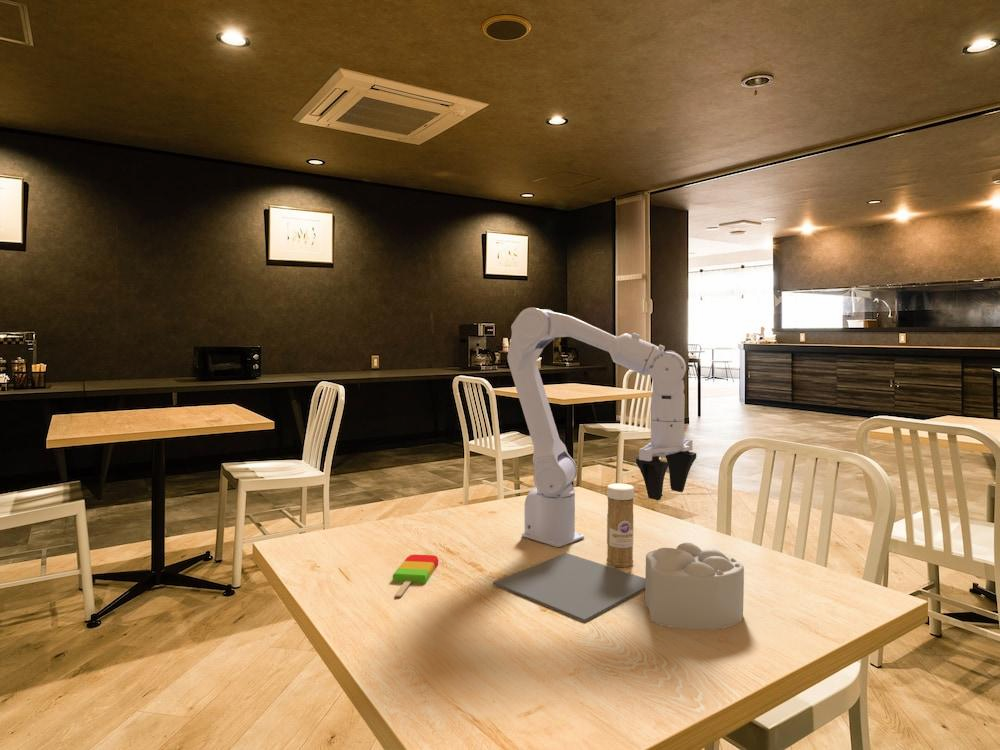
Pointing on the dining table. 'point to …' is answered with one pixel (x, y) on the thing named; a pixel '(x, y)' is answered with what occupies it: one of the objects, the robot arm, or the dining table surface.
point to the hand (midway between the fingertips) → (666, 494)
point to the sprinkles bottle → (620, 524)
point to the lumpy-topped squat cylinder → (693, 588)
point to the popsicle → (415, 571)
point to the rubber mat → (574, 586)
